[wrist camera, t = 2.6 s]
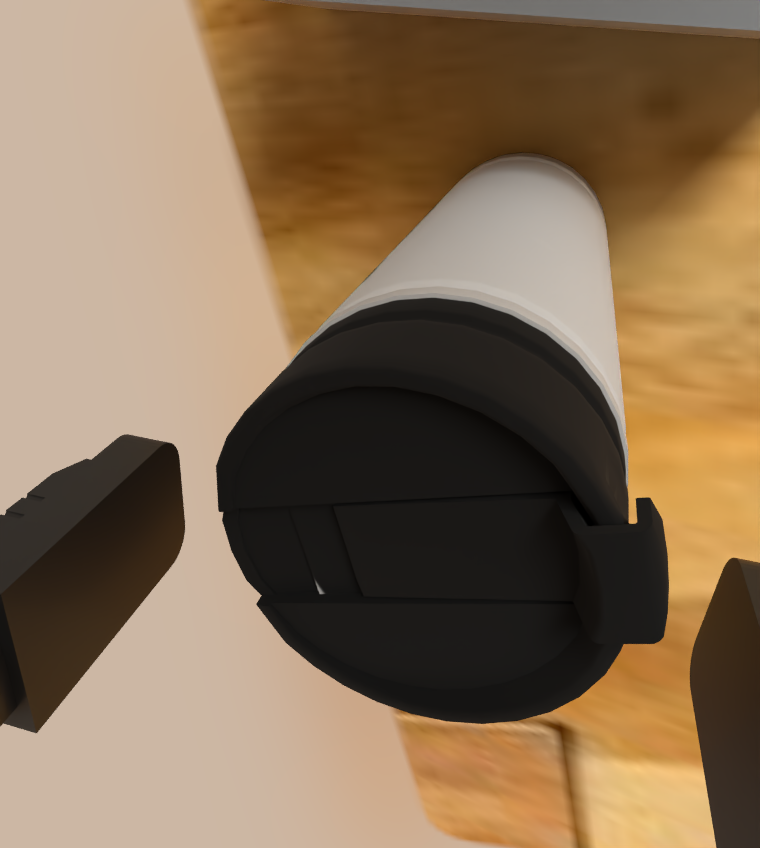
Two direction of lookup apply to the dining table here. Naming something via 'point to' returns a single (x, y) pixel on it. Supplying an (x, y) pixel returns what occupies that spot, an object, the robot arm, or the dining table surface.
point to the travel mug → (457, 465)
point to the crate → (581, 13)
